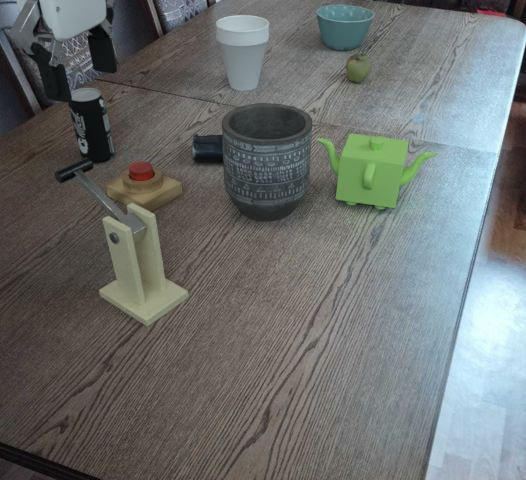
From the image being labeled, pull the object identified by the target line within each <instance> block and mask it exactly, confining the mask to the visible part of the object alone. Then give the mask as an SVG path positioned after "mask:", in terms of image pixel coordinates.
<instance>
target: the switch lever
mask: <svg viewBox="0 0 526 480" xmlns="http://www.w3.org/2000/svg"><path fill="white" fill-rule="evenodd" d="M93 169H94V163H92V161H91V160H90V159H89V158H85V159H84V158H82V159H81V160H78V161H76V162H73V163H72V164H69V165H67V166H65V167H62V168H61V169H58V170H56V171H54V173H53V174H54V178H55V180H56V181H57V183H58V184H64V183H66V182H68V181H70V180H72V179H74V180H75V181H76V182H77V183H78V184H79V185H80V186H81V187H82V188H83V189H84V190H85V191H86V192H87V193H88V194H89V195H90V197H92V198H93V199H94V200H95V201H96V203H98V204H99V205H100V206H101V207H102V208H103V209H104V211H106V213H108V215H109V216H110V217H111V218H113V219H115V220H117V221H119V222H121V223H123V224H124V225H126V226H128V227H130V228H131V231H132V236H133V241H134V243H135V242H137V241H139V240H140V239H142V238H143V237H144V233H145V229H146V226H145V225H144V224H143V223H142V222H141V221H140V220H139V219H138V218H137V217H136V216H135V215H134V214H133V213H132V212H130V213H128V212H127V214H125V213H124V212H123V211H122V209H120V208H119V207H118V205H116V204H115V203H114V202H113V200H111V199H110V197H109V196H107V194H105V193H104V191H102V189H101V188H99V186H97V184H96V183H94V181H93V180H92V179H91V178H89V176H87V175H88V174H86V173H87V172H90V171H91V170H93Z"/></svg>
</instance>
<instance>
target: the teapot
mask: <svg viewBox="0 0 526 480" xmlns="http://www.w3.org/2000/svg"><path fill="white" fill-rule="evenodd" d="M316 141H318V142H319V143H321V145H323V146H324V148H325V149H326V151H327V155H328V161H329V165H330V166H329V167H330V169H331V170H332V172H333V173H334V175H336V176H337V183H336V193H335V200H337V201H344V202H345V204H346V205H349V206H355V205H357V204H364V205H371V206H373V207H374V208H375V209H377V210H385V209H387V208H389V209H396V207H397V203H398V199H399V194H400V189H401V187H403V186H405V185H408V184H410V182H412V180H414V178H415V177H416V175H417V174H418V172H419V170H420V168H421V166H422V165H423V164H424V163H425V161H427V160H428V159H431V158H433V157H436V156H438V153H435V152H429V151H427V152H422V153H420V154H419V155H418V156H417V157H416V158H415V159H414V161H413V163H412V164H411V165H410V166H408V167H406V168H405V164H406V160H407V153H408V150H409V144H410V140H407V139H406V140H405V139H398V138H390V137H384V136H383V135H367V134H360V133H359V134H358V133H348V136H347V139H346V142H345V144H344V146H343V148H342V151H341V154H340V157H339V156H338V154H337V151H336V147H335V145H334V143H333V141H331V140H330V139H326V138H321V137H319V138H316Z"/></svg>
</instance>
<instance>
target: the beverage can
mask: <svg viewBox="0 0 526 480" xmlns="http://www.w3.org/2000/svg"><path fill="white" fill-rule="evenodd" d="M70 92H71V96H72V100H71V101H70V102H68V104H67V105H68V109H69V113H70V117H71V121H72V125H73V129H74V133H75V138H76V142H77V146H78V149H79V153H80V157H81V158H82V159H85V158H89V159H90V160H91V161H92V163H93V164H100V163H105V162H108V161H109V160H111V159H113V156H114V155H115V152H116V149H115V143H114V139H113V134H112V130H111V124H110V120H109V114H108V109H107V104H106V100H105V98H104V97H103V95H102V92H101V90H100V89H98V88H94V87H81V88H76V89H73V90H72V91H70Z"/></svg>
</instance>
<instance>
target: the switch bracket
mask: <svg viewBox="0 0 526 480" xmlns="http://www.w3.org/2000/svg"><path fill="white" fill-rule="evenodd" d="M126 210H127V214H128V213H130V212H132V213H133V214H134V215H135V216H136V217H137V218H138V219H139V220H140V221H141V222H142V223H143V224H144V225H145V226H146V229H145V233H144V237H143V238H142V239H140V240H139V241H137V242H135V243H134V241H133V236H132V231H131V228H130V227H128V226H126V225H124V224H123V223H121V222H119V221H117V220H115V219H114V218H113V217H112V216H111V215H106V216H105V217H103V218H101V221H102V224H103V228H104V233H105V237H106V241H107V245H108V250H109V252H110V258H111V262H112V266H113V271H114V274H115V275H114V276H115V278H116V279H114V280H113V281H111V282H109V283H108V284H106V285H105V286H102V287H101V288H99V289H98V292H99V293H98V294H99V296H100V297H101V298H102V299H103V300H105V301H107V302H108V303H110V304H111V305H113V306H115V307H116V308H118V309H119V310H121V311H122V312H123V313H125V314H127V315H128V316H130V317H131V318H133V319H134V320H136V321H137V322H139V323H141V324H142V325H144V326H145V327H147V328H148V327H150V326H151V325H152V324H154V323H155V322H157V321H158V320H159V319H161V318H162V317H163V316H165V315H166V314H169V312H171V311H173V309H175V308H176V307H177V306H179V305H180V304H182V303H183V302H185V301H186V300H187V299H189V298H190V295H189V291H188V289H186V288H183V287H182V286H180V285H178V284H177V283H175V282H173V281H172V280H170V279H168V278H166V274H165V268H164V263H163V262H164V261H163V256H162V250H161V244H160V243H161V242H160V238H159V231H158V223H157V217H156V214H155V213H153V211H152V212H150V211H148V210H146V209H144V208H142V207H140V206H138V205H136V204H134V203H131V204H129V205H127V206H126Z"/></svg>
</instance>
